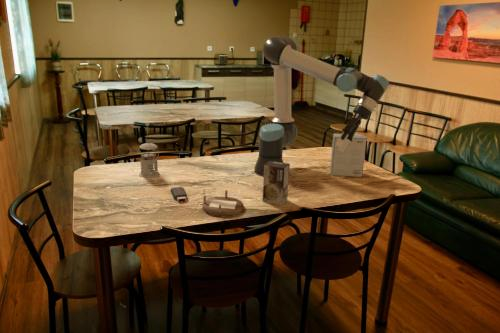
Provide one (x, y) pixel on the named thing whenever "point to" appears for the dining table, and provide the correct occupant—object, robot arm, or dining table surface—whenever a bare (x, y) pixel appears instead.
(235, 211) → the pin nest
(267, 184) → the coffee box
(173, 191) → the usb drive
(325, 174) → the dining table surface
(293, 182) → the dining table surface
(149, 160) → the french press
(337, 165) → the hard drive box
